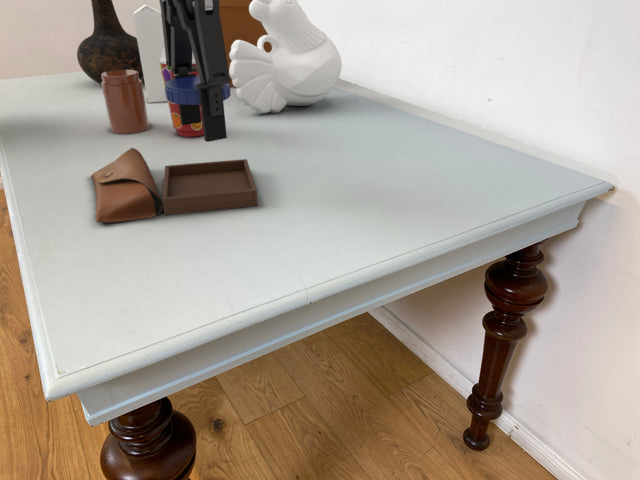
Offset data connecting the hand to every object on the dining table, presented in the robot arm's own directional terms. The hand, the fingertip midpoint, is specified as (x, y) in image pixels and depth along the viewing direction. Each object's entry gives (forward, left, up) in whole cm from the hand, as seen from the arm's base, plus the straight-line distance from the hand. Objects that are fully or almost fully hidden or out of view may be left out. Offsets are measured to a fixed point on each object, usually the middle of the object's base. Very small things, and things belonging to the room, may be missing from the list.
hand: (203, 130), depth 64 cm
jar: (-14, +35, -9) cm, 39 cm away
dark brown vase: (-21, +80, -9) cm, 83 cm away
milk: (-9, +58, -9) cm, 59 cm away
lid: (0, 0, +6) cm, 6 cm away
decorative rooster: (+19, +44, -9) cm, 49 cm away
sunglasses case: (-12, +2, -9) cm, 15 cm away
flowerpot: (+13, +75, -9) cm, 77 cm away
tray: (0, 0, -9) cm, 9 cm away
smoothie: (-2, +29, -9) cm, 31 cm away
